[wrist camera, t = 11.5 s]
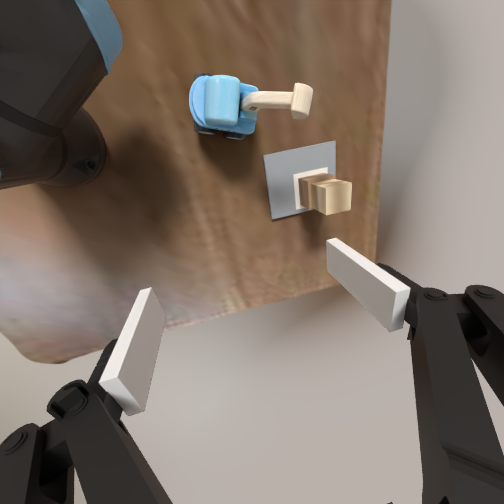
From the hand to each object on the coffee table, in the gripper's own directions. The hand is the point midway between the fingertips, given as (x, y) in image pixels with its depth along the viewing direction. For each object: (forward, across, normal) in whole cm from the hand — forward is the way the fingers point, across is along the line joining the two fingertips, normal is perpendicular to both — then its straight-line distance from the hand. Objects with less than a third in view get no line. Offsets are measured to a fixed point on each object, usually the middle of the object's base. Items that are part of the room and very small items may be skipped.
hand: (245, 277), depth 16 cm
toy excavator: (+35, +7, +14) cm, 38 cm away
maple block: (+28, +21, -4) cm, 35 cm away
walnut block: (+33, +21, -4) cm, 39 cm away
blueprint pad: (+34, +19, -2) cm, 39 cm away
